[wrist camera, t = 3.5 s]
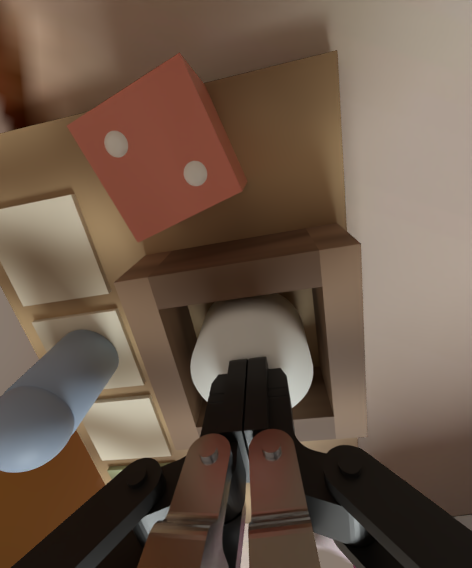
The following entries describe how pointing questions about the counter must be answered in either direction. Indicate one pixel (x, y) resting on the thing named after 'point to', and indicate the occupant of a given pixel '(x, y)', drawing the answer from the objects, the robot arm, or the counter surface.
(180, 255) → the board
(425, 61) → the counter surface
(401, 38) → the counter surface
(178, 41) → the counter surface
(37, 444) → the pawn
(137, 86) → the die
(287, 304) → the dome
